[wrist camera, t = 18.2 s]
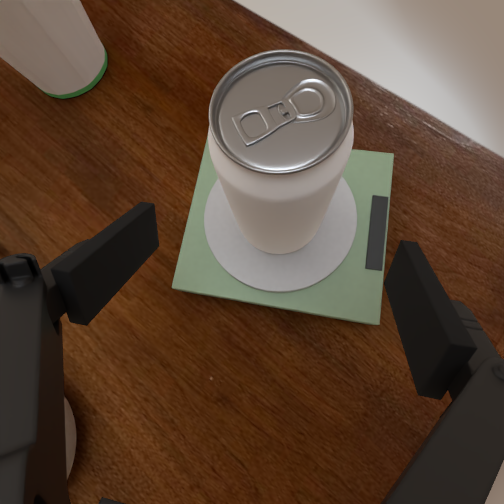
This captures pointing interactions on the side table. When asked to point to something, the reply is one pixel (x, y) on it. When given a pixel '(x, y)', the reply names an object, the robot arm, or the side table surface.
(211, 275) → the scale
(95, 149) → the side table surface
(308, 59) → the can
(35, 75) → the cup
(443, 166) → the side table surface
